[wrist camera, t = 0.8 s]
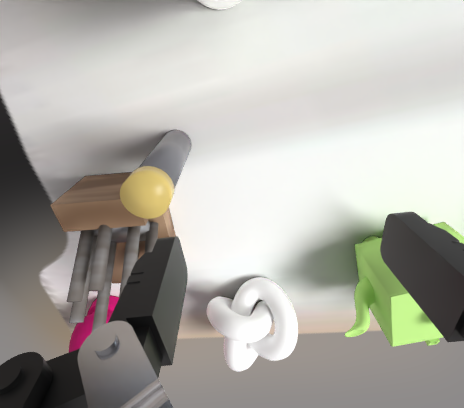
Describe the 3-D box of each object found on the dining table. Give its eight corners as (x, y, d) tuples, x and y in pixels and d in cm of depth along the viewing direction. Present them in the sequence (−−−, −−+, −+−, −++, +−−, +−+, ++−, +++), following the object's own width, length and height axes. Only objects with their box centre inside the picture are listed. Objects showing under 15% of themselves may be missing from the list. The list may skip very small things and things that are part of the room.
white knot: (265, 253, 35) (275, 309, 27) (304, 302, 40) (322, 361, 32) (199, 286, 38) (191, 345, 30) (243, 328, 43) (246, 388, 35)
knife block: (80, 176, 29) (3, 238, 19) (159, 169, 28) (123, 229, 19) (121, 273, 36) (81, 354, 26) (183, 269, 36) (166, 348, 26)
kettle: (316, 271, 36) (348, 348, 27) (383, 190, 30) (457, 252, 20) (397, 299, 40) (452, 378, 30) (473, 232, 33) (574, 303, 24)
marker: (158, 130, 26) (113, 177, 16) (189, 127, 26) (163, 173, 16) (165, 159, 28) (127, 220, 17) (194, 157, 28) (174, 216, 17)
